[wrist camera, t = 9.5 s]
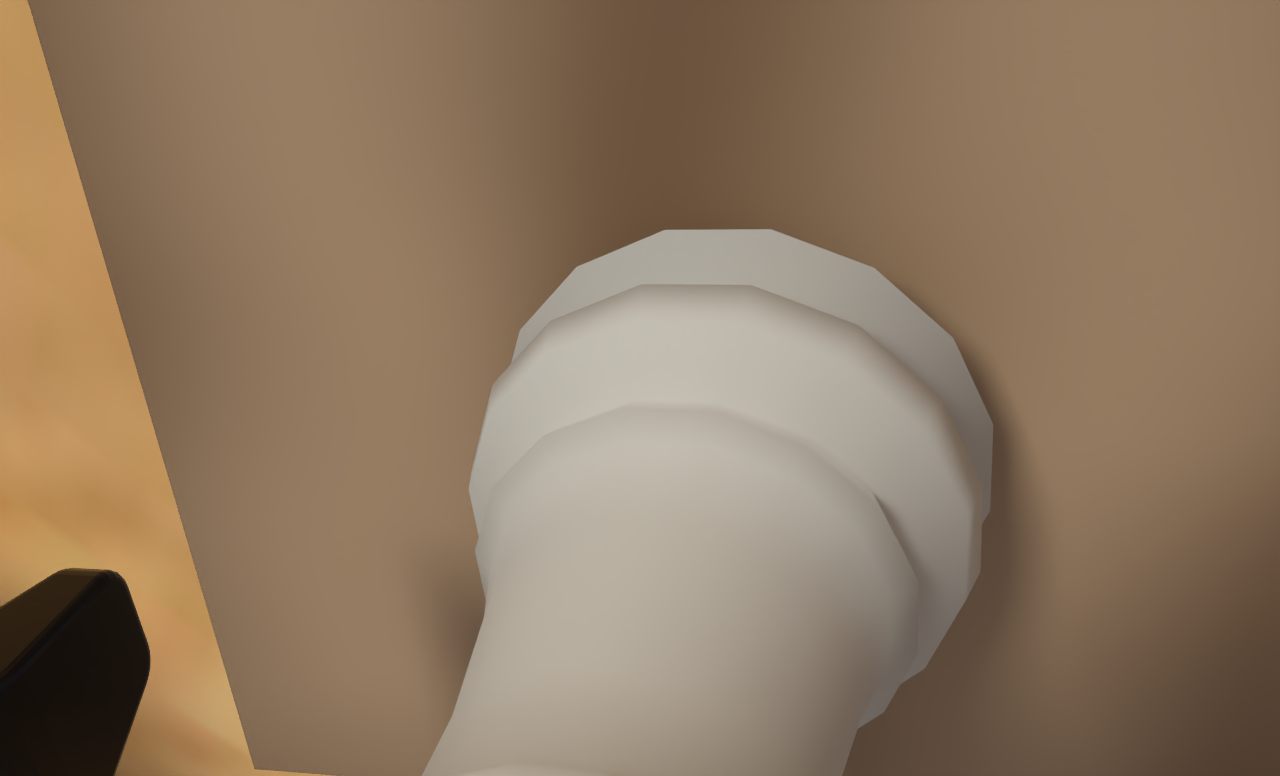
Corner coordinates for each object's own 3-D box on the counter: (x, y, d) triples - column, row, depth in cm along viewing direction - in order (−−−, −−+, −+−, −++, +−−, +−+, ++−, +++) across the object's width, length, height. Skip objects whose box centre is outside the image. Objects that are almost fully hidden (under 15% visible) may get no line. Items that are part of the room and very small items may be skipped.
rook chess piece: (1095, 499, 11) (1243, 1843, 4) (708, 672, 13) (407, 1733, 6) (797, 97, 10) (350, 1087, 3) (426, 362, 12) (-297, 1265, 5)
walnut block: (1540, -387, 10) (1740, -376, 8) (1195, 684, 16) (1252, 846, 14) (94, -354, 11) (-72, -337, 9) (319, 628, 18) (254, 769, 15)
